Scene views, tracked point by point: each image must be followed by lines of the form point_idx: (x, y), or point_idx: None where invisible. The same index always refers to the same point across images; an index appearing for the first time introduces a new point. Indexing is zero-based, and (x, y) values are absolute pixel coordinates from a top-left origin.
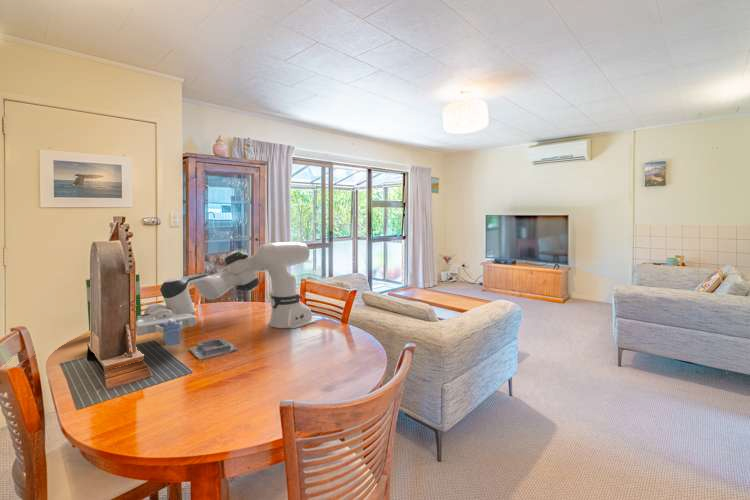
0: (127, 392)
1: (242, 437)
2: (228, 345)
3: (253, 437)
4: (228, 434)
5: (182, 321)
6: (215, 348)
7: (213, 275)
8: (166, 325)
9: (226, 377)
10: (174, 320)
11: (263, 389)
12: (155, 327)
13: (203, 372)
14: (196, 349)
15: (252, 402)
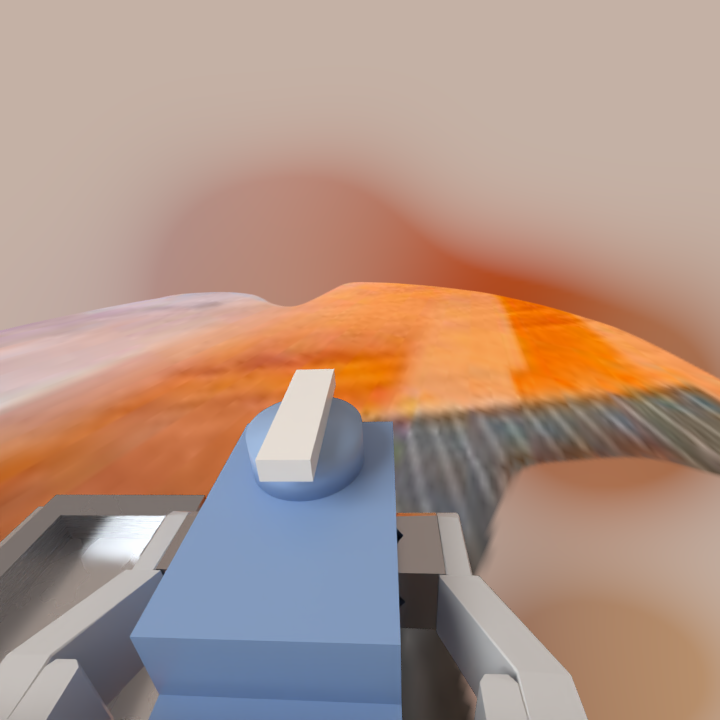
0: (570, 405)
1: (377, 287)
2: (62, 498)
3: (367, 285)
4: (388, 291)
5: (2, 661)
6: (143, 495)
7: None
8: (389, 436)
9: (292, 369)
10: (257, 432)
11: (277, 324)
12: (564, 689)
13: None
14: (148, 678)
15: (321, 312)
